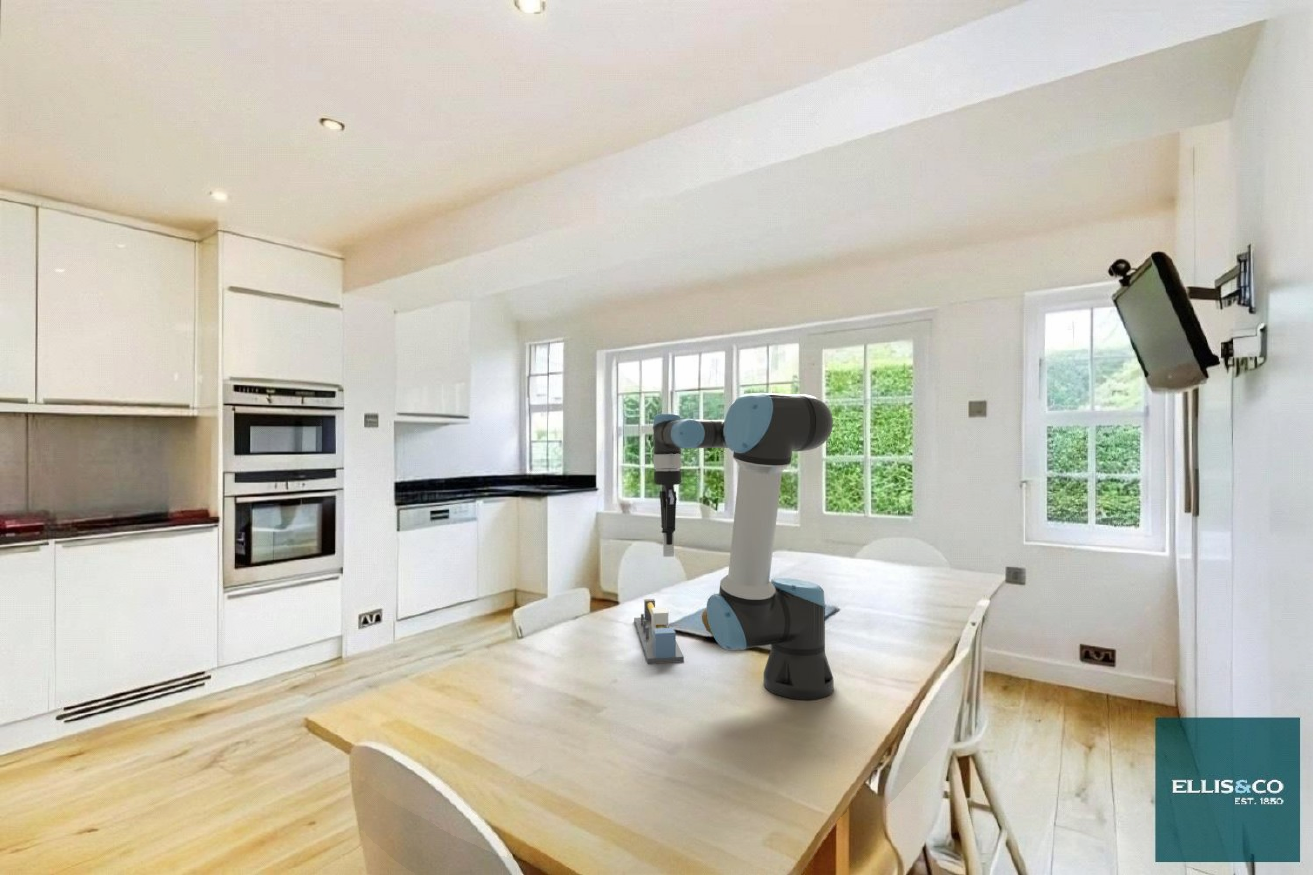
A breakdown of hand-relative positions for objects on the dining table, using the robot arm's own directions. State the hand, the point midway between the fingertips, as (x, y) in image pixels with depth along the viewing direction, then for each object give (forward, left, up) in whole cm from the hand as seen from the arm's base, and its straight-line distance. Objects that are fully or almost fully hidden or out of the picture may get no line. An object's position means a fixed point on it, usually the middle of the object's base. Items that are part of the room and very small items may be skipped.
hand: (668, 555), depth 165 cm
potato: (-2, -16, -23) cm, 28 cm away
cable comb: (0, +3, -23) cm, 23 cm away
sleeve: (-7, +3, -19) cm, 21 cm away
